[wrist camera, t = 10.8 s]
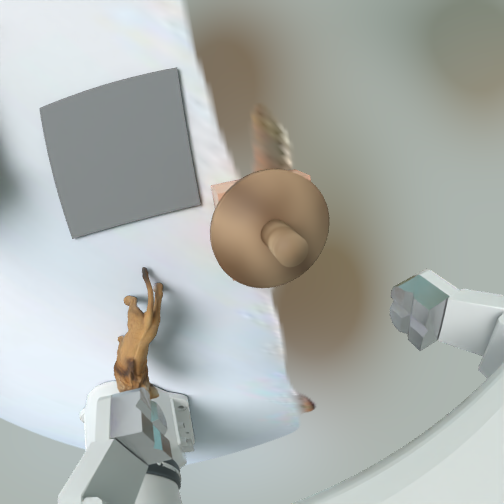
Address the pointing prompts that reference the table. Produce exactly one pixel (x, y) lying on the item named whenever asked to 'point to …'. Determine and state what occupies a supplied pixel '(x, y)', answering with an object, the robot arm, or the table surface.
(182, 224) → the table surface
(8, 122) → the table surface
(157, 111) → the mat
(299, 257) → the lid
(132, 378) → the lion figurine
